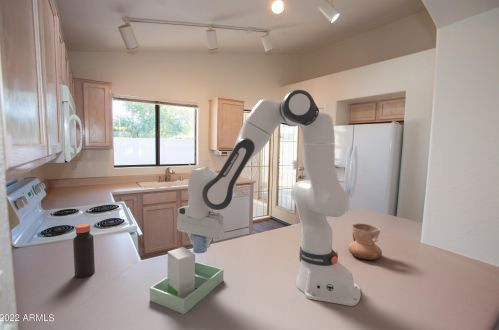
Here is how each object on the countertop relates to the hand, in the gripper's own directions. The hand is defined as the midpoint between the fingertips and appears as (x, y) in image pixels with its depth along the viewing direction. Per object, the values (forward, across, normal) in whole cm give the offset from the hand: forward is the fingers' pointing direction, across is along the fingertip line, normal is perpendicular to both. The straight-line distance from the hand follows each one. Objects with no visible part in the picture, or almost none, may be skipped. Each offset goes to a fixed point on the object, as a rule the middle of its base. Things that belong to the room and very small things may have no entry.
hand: (200, 245), depth 93 cm
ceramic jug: (+14, -55, -55) cm, 79 cm away
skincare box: (+14, 0, +10) cm, 18 cm away
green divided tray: (+14, 0, +6) cm, 15 cm away
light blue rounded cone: (+2, 0, 0) cm, 2 cm away
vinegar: (+15, +45, +17) cm, 50 cm away
